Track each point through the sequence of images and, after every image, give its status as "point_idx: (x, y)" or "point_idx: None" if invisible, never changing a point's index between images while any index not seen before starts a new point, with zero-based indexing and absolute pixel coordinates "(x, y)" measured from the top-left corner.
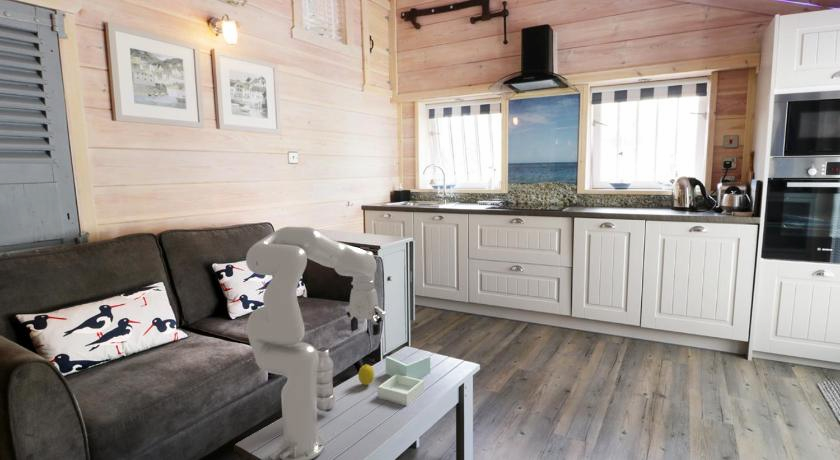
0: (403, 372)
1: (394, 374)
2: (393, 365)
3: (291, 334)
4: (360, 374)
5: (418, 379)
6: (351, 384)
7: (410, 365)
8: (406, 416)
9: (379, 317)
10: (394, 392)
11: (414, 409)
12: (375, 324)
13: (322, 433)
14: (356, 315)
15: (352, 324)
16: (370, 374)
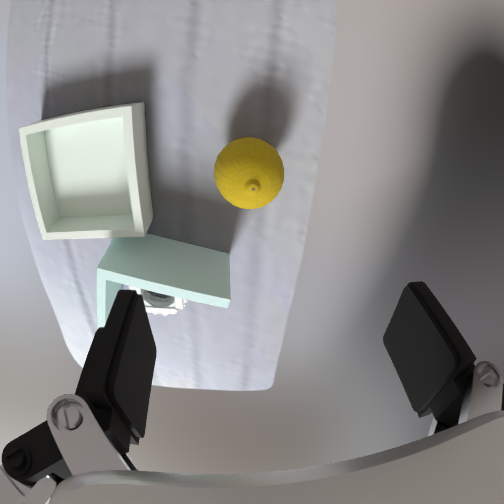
0: (124, 253)
1: (180, 253)
2: (180, 274)
3: None
4: (259, 144)
5: (58, 238)
6: (305, 141)
7: (98, 282)
8: (15, 76)
9: (15, 480)
10: (61, 117)
11: (18, 119)
12: (70, 398)
13: None
14: (442, 471)
15: (441, 332)
16: (216, 165)
